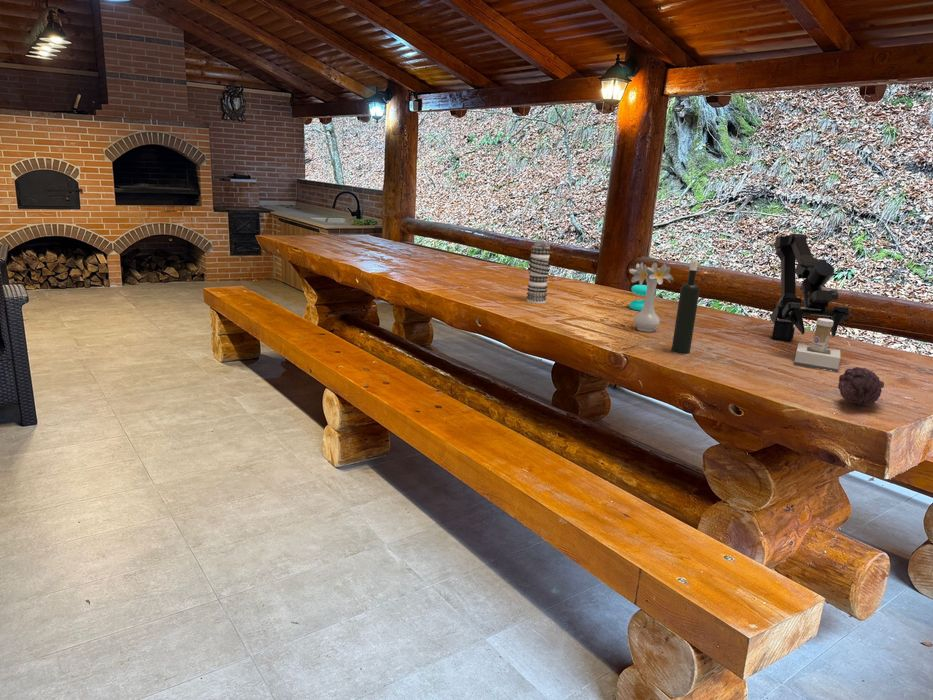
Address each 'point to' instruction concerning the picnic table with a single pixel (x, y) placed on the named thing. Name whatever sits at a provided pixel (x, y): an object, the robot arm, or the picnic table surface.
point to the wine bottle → (686, 313)
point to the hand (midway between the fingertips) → (818, 334)
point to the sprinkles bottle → (822, 335)
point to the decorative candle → (538, 273)
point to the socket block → (817, 358)
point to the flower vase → (649, 294)
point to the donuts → (639, 291)
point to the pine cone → (860, 386)
